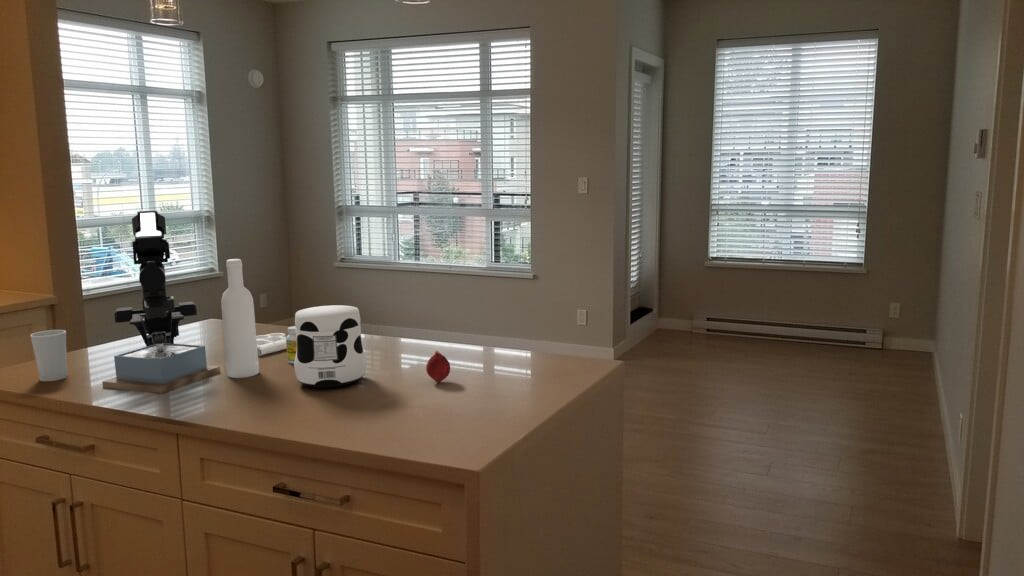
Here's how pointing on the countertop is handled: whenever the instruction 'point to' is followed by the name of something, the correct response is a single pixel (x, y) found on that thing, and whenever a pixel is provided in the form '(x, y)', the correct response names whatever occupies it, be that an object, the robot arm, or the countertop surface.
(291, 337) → the supplement bottle
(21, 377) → the countertop surface
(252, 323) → the bottle
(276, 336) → the white muffin tray
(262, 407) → the countertop surface
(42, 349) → the cup
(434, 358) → the onion
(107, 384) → the serving board
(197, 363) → the blue grey open box
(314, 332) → the milk container
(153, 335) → the lid with knob
